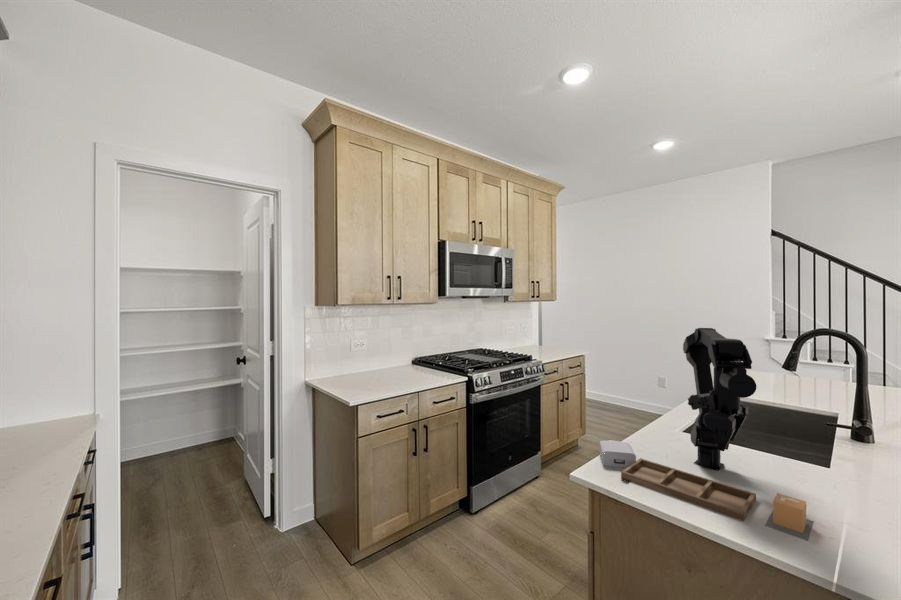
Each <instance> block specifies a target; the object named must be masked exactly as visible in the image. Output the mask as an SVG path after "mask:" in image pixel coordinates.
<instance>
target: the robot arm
mask: <svg viewBox="0 0 901 600" xmlns="http://www.w3.org/2000/svg"><path fill="white" fill-rule="evenodd" d="M682 345H683V346H682V350H683V353H684V354H685V358H686V361H687V362H688V363H689V364H690V365H691V367H692V369H693V375H694V383H695V389H696V390H695V391H696V394H691V395H689V397H688V398H687V401H688V402H687V405H688V406H690V407H691V409H692V410H693V411H694V410H695V411H696V410H698V415H697V417H696V418H695V420H694V425H693V427H692V430H691V432H690V442H691V443H692V444H693V446H694V447H695V448H696V447H697V459H696V460H695V461H694V462H693V465H696V466H699V467H702V468H706V469H709V470H713V471H716V472H718V471H720V470H722V469H723V468H724V467H725V463H721V452H725V451H726V450H727V451H728V449H729V447H730V441H731V442H734V440H735V438H736V436H737V435H738V432H739V430H740V429H741V427H742V425H743V424H744V422H745V420H746V418H747V417H748V414H749V405H748V404H747V403H746V402H745V401H741V399H743V398H749V397H751V396H753V395H754V394H755V392H756V390H757V384H756V381H755V379H754V378H753V377H752V376H751V375H749V374H747V372H748V371H747V370H752V363H753V360H752V358H751V355H750V353H749V349H748V348H747V345H746V344H745V343H744V342H743V340H741V339H737V338H727V337H725V336H724V335H722V334H721V333H719V332H718V331H717V330H716V328H712V327H698V328H695V329H694V331H693V332H692V333H691V334H688V335H687V336H686V337H685V339H684V342H683V344H682ZM711 364H712V367H713V376H712V369H711ZM741 412H742V413H741Z"/></svg>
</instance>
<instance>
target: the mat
mask: <svg viewBox="0 0 901 600" xmlns="http://www.w3.org/2000/svg"><path fill="white" fill-rule="evenodd" d="M814 522H815V521H814V520H811V519H808V518H806V526H805V529H804V532H803V533H801V532H798V531H795V530H792V529H789V528H786V527H783V526H780V525H777V524H775V523H773V510H772V511H771V513H770V515H769V516H768V519H767V520H766V523H765V524H764V527H766V528H767V527H768V528H771V529H773V530H777V531H779V532H781V533H784V534H787V535H790V536H792V537H796V538H799V539H802V540H804V541H806V542H808V541H809V539H810V535H811V533H812V532H811V531H812V529H813V527H814V526H813V525H814Z"/></svg>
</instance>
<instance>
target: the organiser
mask: <svg viewBox="0 0 901 600" xmlns="http://www.w3.org/2000/svg"><path fill="white" fill-rule="evenodd" d="M620 473H621V474H620V477H621V479H622V480H621V479H620V480H621V481H624V480H625V481H624V482H627V481H628V483H629V482H630V483H632V482H633V483H635V484H638V485H640V486H644V487H647V488H648V489H649V488H650V489H653V490H655V491H657V492H660V493H663V494H667V495H669V496H672V497H675V498H678V499H680V500H683V501H685V502H689V503H691V504H694V505H697V506H699V507H702V508H705V509H709V510H711V511H714V512H717V513H719V514H722V515H725V516H728V517H731V518H733V519H736V520H739V521H742V522H744V521H745V519H746V518H747V516H748V514H749V513H750V511H751V510H752V508H753V506H754V505H755V503H756V501H757V493H755V492H751V491H748V490H745V489H741V488H738V487H736V486H732V485H728V484H725V483H722V482H719V481H716V480H712V479H708V478H706V477H702V476H699V475H695V474H693V473H690V472H686V471H684V470H680V469H677V468H674V467H670V466H666V465H663V464H660V463H657V462H654V461H651V460H647V459H645V458H639V459H636V462H635V463H633V464H632V465H630V466H629V467H627V468H624V469H623V470H621V472H620Z"/></svg>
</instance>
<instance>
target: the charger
mask: <svg viewBox="0 0 901 600" xmlns="http://www.w3.org/2000/svg"><path fill="white" fill-rule="evenodd" d="M604 453H605V454H604ZM599 454H600V458H601V461H602V465H603V466H605V467H612V466H613V467H615V468H622V467H624V468H623V469H626V468H627V467H629V466H630V465H632V464H633V463H635V462H636V461H637V455H636V453H635V451H634V450H633V447H632V446H631V444H630V443H629V442H627V441H618V440H612V439H609V440H600V441H599ZM601 455H602V456H601Z"/></svg>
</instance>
